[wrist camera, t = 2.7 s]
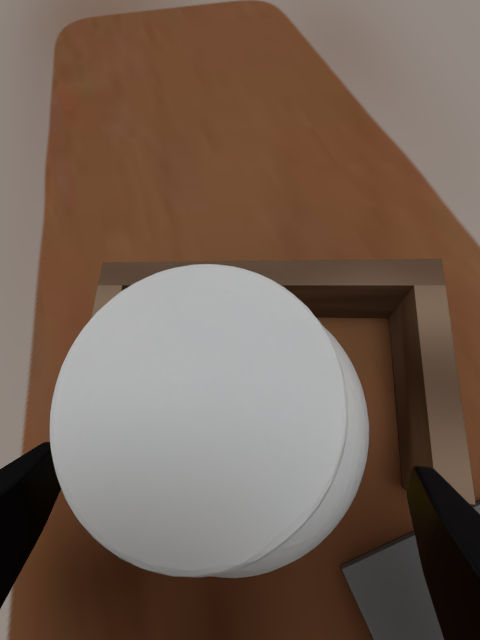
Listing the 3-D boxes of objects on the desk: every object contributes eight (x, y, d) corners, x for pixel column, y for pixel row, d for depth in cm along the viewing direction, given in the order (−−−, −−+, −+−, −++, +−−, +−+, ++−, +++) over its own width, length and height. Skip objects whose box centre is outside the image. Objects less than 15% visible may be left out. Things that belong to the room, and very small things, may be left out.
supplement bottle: (352, 483, 16) (533, 600, 4) (213, 526, 16) (-8, 759, 4) (301, 348, 18) (321, 166, 6) (181, 386, 19) (-19, 281, 7)
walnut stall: (431, 490, 16) (475, 504, 12) (107, 463, 18) (58, 469, 14) (411, 296, 18) (441, 259, 15) (136, 295, 21) (102, 262, 17)
